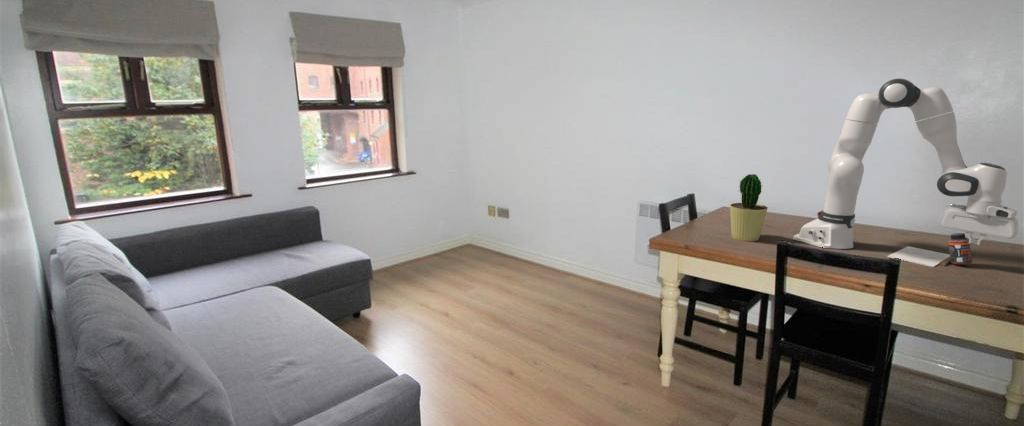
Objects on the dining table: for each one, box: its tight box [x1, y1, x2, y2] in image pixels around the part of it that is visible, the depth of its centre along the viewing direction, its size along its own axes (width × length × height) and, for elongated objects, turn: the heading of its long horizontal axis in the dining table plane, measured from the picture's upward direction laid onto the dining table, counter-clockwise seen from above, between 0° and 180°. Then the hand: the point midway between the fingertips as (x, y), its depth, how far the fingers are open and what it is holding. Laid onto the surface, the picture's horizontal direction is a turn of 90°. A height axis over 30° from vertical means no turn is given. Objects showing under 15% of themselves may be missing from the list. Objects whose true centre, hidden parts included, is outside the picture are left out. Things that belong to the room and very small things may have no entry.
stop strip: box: [938, 257, 951, 267], centre depth 186 cm, size 2×12×1 cm, turn 124°
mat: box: [886, 245, 950, 268], centre depth 193 cm, size 15×22×1 cm, turn 124°
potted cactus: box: [729, 173, 768, 242], centre depth 217 cm, size 15×15×30 cm
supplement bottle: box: [947, 232, 973, 265], centre depth 182 cm, size 6×6×11 cm
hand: (974, 244), depth 179 cm, fingers closed
